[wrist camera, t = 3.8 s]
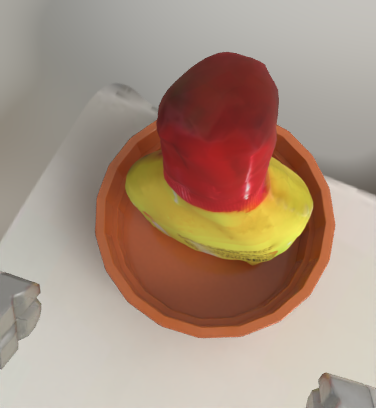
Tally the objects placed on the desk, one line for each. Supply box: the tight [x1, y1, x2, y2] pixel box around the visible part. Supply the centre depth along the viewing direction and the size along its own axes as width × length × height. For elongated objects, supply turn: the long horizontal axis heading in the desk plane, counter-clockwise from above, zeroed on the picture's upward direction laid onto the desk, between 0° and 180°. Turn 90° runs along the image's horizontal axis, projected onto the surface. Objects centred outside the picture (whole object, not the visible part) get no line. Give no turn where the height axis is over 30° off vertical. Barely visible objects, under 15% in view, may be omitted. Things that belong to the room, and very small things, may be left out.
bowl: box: [95, 120, 335, 338], centre depth 27 cm, size 17×17×6 cm
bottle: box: [125, 52, 313, 266], centre depth 20 cm, size 12×6×20 cm, turn 74°
